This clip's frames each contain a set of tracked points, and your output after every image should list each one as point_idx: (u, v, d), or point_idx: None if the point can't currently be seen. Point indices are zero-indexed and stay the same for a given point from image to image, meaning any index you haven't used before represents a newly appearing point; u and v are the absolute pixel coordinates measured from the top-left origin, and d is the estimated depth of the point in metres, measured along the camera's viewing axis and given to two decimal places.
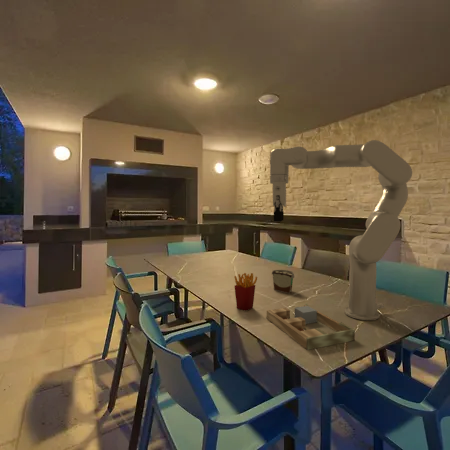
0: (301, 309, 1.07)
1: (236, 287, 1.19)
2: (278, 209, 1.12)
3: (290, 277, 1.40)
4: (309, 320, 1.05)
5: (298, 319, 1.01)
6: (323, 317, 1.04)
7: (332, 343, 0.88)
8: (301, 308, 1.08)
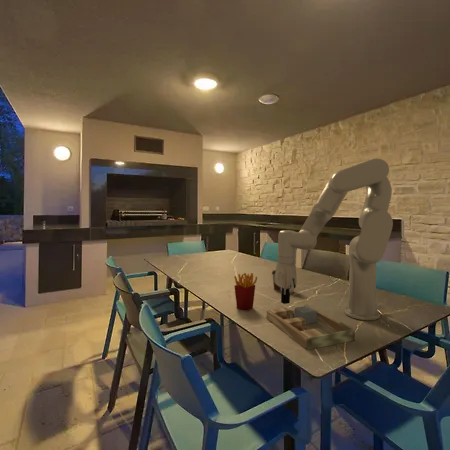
0: (301, 309, 1.07)
1: (236, 287, 1.19)
2: None
3: None
4: (309, 320, 1.05)
5: (298, 319, 1.01)
6: (323, 317, 1.04)
7: (332, 343, 0.88)
8: (301, 308, 1.08)
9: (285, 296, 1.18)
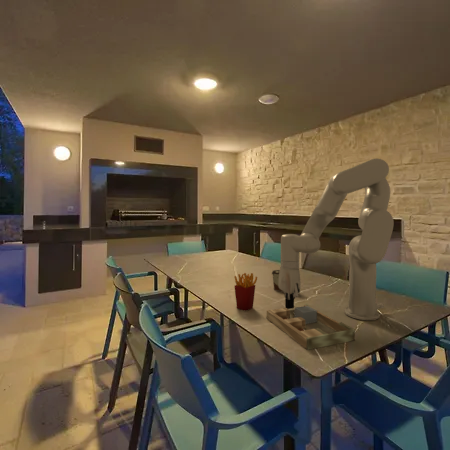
0: (301, 309, 1.07)
1: (236, 287, 1.19)
2: None
3: None
4: (309, 320, 1.05)
5: (298, 319, 1.01)
6: (323, 317, 1.04)
7: (332, 343, 0.88)
8: (301, 308, 1.08)
9: (289, 301, 1.16)
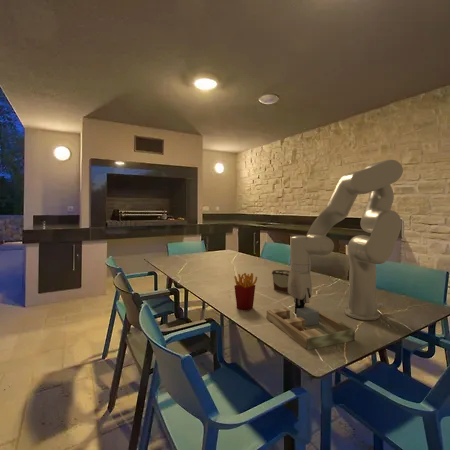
0: (303, 310, 1.05)
1: (236, 287, 1.19)
2: None
3: None
4: (311, 321, 1.03)
5: (298, 319, 1.01)
6: (323, 317, 1.04)
7: (332, 343, 0.88)
8: (303, 309, 1.06)
9: (299, 307, 1.09)
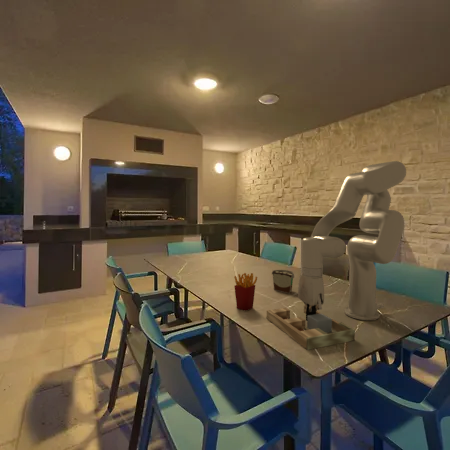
0: (315, 317, 0.99)
1: (236, 287, 1.19)
2: None
3: (290, 277, 1.40)
4: (324, 329, 0.96)
5: (298, 319, 1.01)
6: None
7: (332, 343, 0.88)
8: (314, 316, 1.00)
9: (311, 313, 1.03)
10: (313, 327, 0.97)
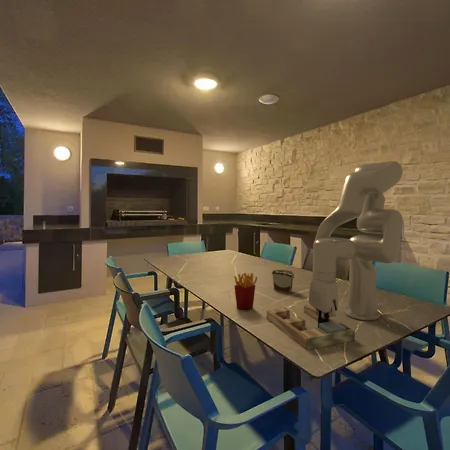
0: (327, 325, 0.92)
1: (236, 287, 1.19)
2: None
3: (290, 277, 1.40)
4: None
5: (298, 319, 1.01)
6: None
7: (332, 343, 0.88)
8: (327, 324, 0.93)
9: (323, 320, 0.96)
10: None
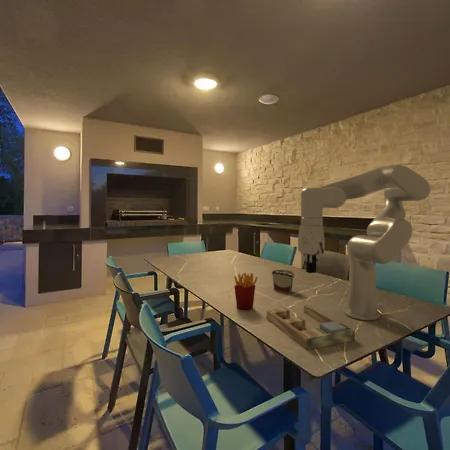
0: (328, 326, 0.92)
1: (236, 287, 1.19)
2: None
3: (290, 277, 1.40)
4: None
5: (298, 319, 1.01)
6: (323, 317, 1.04)
7: (332, 343, 0.88)
8: (327, 324, 0.93)
9: (311, 264, 1.02)
10: None
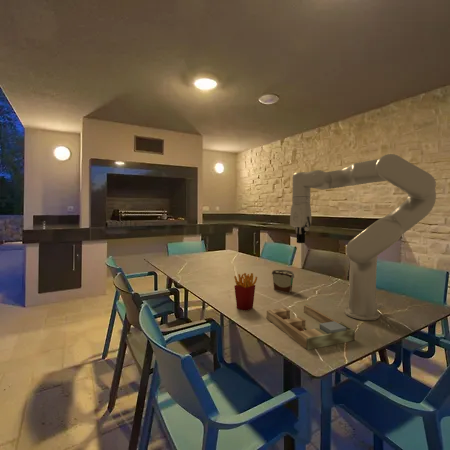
0: (328, 326, 0.92)
1: (236, 287, 1.19)
2: None
3: (290, 277, 1.40)
4: None
5: (298, 319, 1.01)
6: (323, 317, 1.04)
7: (332, 343, 0.88)
8: (327, 324, 0.93)
9: (300, 235, 1.23)
10: None
